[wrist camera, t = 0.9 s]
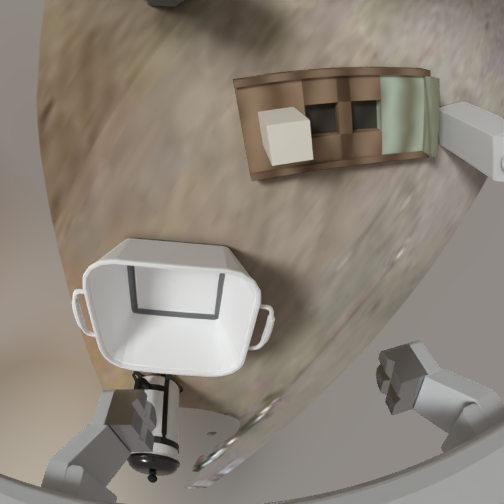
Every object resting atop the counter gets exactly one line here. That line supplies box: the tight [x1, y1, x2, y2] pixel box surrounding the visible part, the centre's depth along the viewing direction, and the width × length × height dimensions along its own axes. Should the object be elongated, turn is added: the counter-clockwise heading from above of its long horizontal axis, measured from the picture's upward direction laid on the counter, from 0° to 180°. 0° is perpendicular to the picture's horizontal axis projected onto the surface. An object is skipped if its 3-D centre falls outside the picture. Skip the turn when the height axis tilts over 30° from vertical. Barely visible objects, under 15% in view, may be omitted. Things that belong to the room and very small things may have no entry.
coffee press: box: [127, 371, 183, 482], centre depth 66 cm, size 17×16×30 cm
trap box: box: [233, 67, 439, 181], centre depth 41 cm, size 30×15×5 cm, turn 99°
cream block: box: [258, 107, 313, 166], centre depth 38 cm, size 5×5×8 cm
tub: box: [72, 238, 275, 377], centre depth 54 cm, size 34×27×13 cm
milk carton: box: [438, 101, 504, 182], centre depth 36 cm, size 7×7×19 cm
